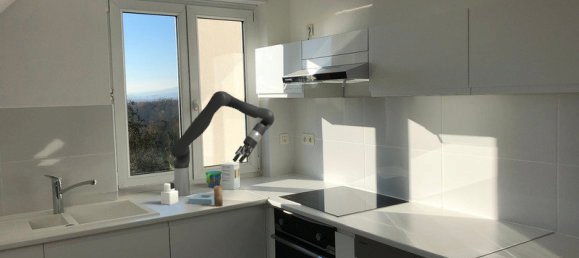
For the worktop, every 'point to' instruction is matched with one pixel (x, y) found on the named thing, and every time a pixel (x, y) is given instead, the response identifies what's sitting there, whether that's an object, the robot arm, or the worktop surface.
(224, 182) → the supplement box
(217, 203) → the walnut peg
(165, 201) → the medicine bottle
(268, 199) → the worktop surface
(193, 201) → the socket block
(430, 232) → the worktop surface
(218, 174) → the snack cup
